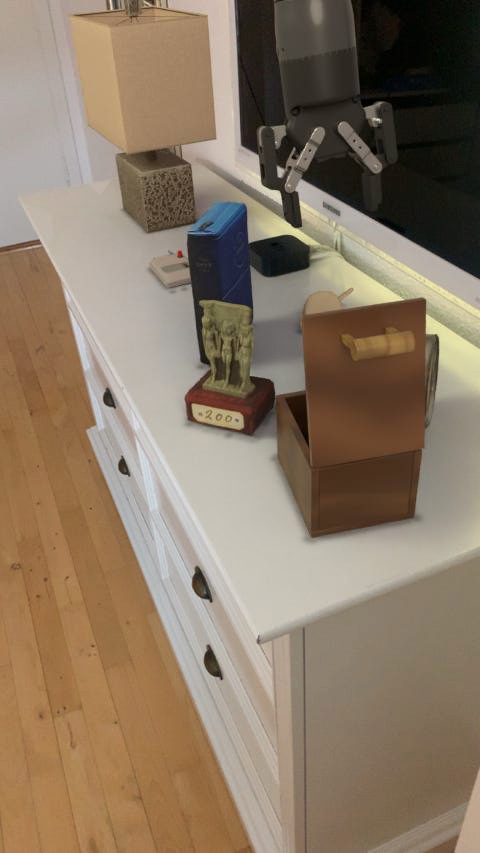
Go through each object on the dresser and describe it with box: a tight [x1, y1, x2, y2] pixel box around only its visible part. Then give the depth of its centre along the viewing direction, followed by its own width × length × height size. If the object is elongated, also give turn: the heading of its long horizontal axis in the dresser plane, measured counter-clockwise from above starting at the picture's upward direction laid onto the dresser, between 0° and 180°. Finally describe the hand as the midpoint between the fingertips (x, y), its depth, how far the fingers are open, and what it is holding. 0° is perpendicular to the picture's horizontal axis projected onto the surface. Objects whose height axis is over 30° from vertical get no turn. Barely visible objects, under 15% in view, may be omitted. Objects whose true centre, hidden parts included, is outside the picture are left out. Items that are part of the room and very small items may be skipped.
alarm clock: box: [425, 333, 440, 430], centre depth 81 cm, size 11×5×16 cm, turn 160°
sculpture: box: [184, 300, 276, 436], centre depth 85 cm, size 10×8×15 cm
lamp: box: [68, 0, 217, 233], centre depth 142 cm, size 29×18×41 cm, turn 25°
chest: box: [275, 389, 423, 539], centre depth 74 cm, size 14×11×9 cm
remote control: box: [148, 249, 191, 289], centre depth 127 cm, size 7×16×3 cm, turn 24°
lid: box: [300, 296, 427, 468], centre depth 61 cm, size 14×11×5 cm
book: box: [186, 201, 254, 366], centre depth 98 cm, size 14×5×20 cm, turn 163°
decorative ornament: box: [299, 287, 354, 330], centre depth 107 cm, size 4×8×5 cm, turn 94°
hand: (334, 218), depth 75 cm, fingers open, 8 cm apart
